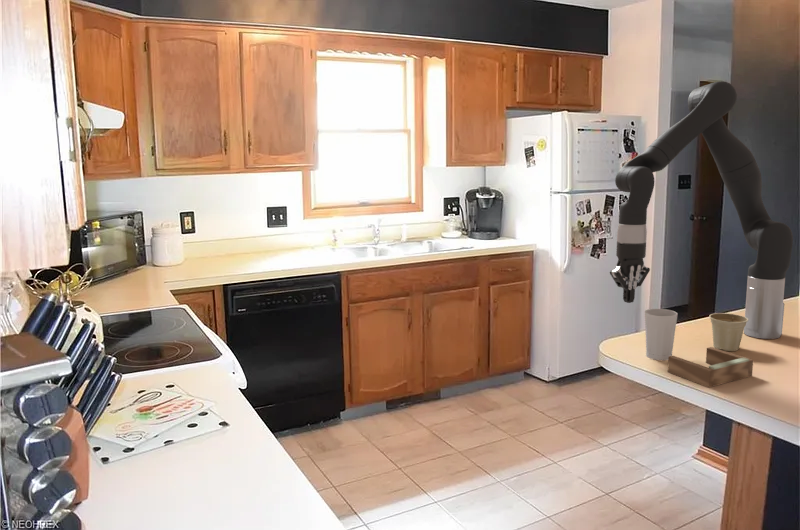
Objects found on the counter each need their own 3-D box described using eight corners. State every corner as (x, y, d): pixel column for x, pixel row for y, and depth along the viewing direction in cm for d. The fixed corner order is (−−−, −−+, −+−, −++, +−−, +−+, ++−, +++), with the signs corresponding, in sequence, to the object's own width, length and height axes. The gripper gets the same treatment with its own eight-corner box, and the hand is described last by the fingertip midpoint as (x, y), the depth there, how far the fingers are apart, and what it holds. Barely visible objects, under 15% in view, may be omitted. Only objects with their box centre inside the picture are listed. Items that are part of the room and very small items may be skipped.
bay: (709, 361, 157) (711, 345, 156) (752, 375, 147) (753, 358, 146) (667, 372, 151) (668, 354, 150) (708, 387, 141) (709, 369, 140)
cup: (648, 349, 168) (650, 307, 166) (679, 355, 163) (681, 311, 161) (638, 357, 162) (640, 313, 160) (670, 363, 157) (672, 318, 155)
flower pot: (754, 350, 165) (756, 319, 163) (728, 355, 162) (730, 323, 160) (724, 341, 174) (726, 311, 172) (699, 345, 170) (701, 315, 169)
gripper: (638, 237, 173) (635, 296, 176) (603, 240, 168) (600, 302, 171) (660, 240, 166) (656, 302, 169) (623, 243, 161) (620, 307, 164)
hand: (628, 302), depth 170 cm, fingers closed
